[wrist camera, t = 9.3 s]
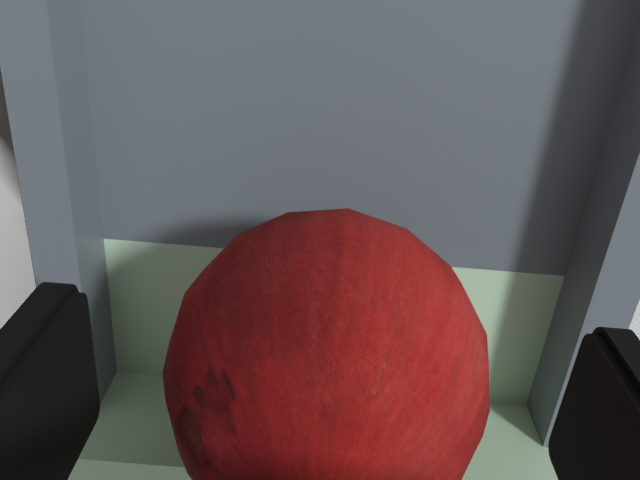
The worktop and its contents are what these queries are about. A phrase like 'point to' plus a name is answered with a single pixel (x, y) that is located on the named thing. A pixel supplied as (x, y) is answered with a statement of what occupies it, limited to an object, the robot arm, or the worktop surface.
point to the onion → (327, 357)
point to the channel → (330, 174)
